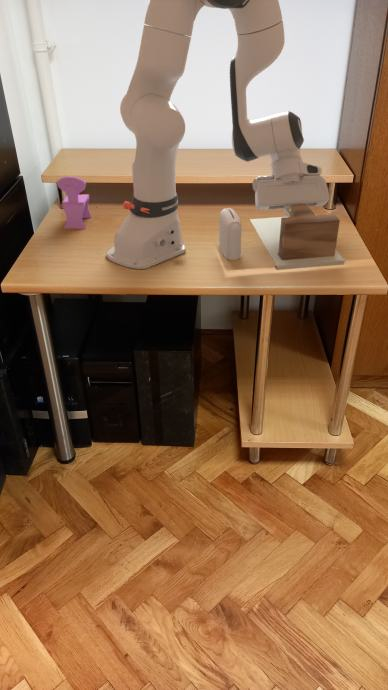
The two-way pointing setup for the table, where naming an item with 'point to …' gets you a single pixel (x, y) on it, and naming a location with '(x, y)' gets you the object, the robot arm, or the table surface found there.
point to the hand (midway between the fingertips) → (295, 222)
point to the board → (270, 237)
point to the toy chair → (74, 201)
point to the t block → (307, 234)
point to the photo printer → (230, 234)
